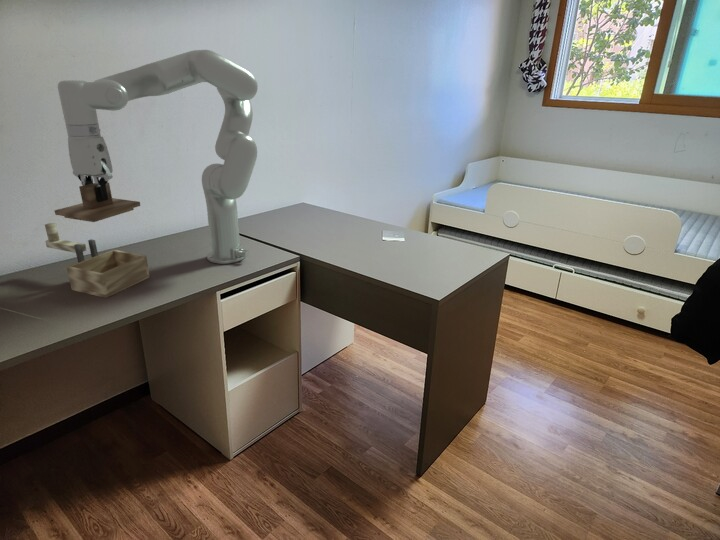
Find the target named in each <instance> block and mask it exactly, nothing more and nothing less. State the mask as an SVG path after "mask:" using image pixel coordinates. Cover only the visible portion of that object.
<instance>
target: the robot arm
mask: <svg viewBox="0 0 720 540" xmlns="http://www.w3.org/2000/svg"><path fill="white" fill-rule="evenodd" d="M201 83H208V84H210V85H212V86H214V87H215V88H216V90H217V93H219V95H220V97H221V99H222V100H223V104H224V114H223V119H222V120H223V121H222V123H221V126H220V129H219V133H218V136H217V139H216V142H215V146H214V150H215V154H216V155H217V156H218V157H219V158H220V159H222V160H223V163H211V164H209V165H207V166H206V167H205V168H204V170H203V171H202V174H201V186H202V189H203V190H202V191H203V194H204V199H205V203H206V204H205V205H206V212H207V223H208V233H209V241H210V242H209V244H210V252H208V253H207V255H206V258H207V260H208V261H209V263H210V262H211V263H214V264H219V265H220V264H223V265H224V264H233V263H238V262H240V261H242V260H244V259H245V258H248V257H249V253H250V250H249V249H246V248H245V249H244V247H243V246H244V245H243V244H241V242H240V229H239V227H240V226H239V218H238V205H237V199H238V198H241V197H242V196H243V195H244V193H245V192H246V190H247V189H248V186H249V182H250V179H251V177H252V175H253V171H254V168H255V165H256V161H257V157H258V146H257V143H256V142H255V140H254V139H253V138H252V137H251V136H249V135H250V130H251V126H252V122H253V108H252V103H251V100H252V99H253V98H254V97H255V96H256V95H257V93H258V82H257V79H256V77H255V75H254V74H252V73H251V72H250V70H249V71H248V70H247V69H245V68H244V67H242V66H241V65H238V64H236V63H235V62H233V61H231V60H229V59H228V58H225V57H224V56H222V55H221V54H219V53H217V52H215V51H213V50H210V49H195V50H190V51H187V52H182V53H180V54H177V55H174V56H170V57H167V58H163V59H160V60H156V61H153V62H151V63H147V64H144V65H141V66H138V67H135V68H131V69H129V70H125V71H122V72H121V71H120V72H117V73H114V74H112V75H109V76H105V77H102V78H98V79H96V80H94V81H85V80H77V79H75V80H67V79H66V80H60V81H59V82H58V83H57V89H58V90H57V91H58V96H59V101H60V105H61V109H62V110H61V111H62V114H63V119H64V124H65V129H66V132H67V146H68V147H67V148H68V155H69V161H70V165H71V168H72V174H73V175H74V176H75V177H76V178H78V180H79V181H80V182H81V186H84V185H88V184H93V183H95V185H96V187H95V193H96V198H97V202H102V201H105V200H108V195H107V190H106V186H107V182H108V183H109V181H110V180H111V179H112V178H113V174H112V173H113V165H112V160H111V155H110V153H109V150H108V146H107V143H106V140H105V139H104V136H102V135H101V128H100V124H99V120H98V113H97V110H101V111H112V112H113V111H114V112H115V111H120V110H122V109H123V108H125V107H126V106H127V104H128V102H130V101H133V100H137V99H141V98H142V99H143V98H146V97H159V96H164V95H169V94H171V93H174V92H177V91H180V90H182V89H185V88H188V87H192V86H194V85H195V86H196V85H198V84H201ZM99 178H100V179H99Z"/></svg>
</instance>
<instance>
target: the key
mask: <svg viewBox="0 0 720 540" xmlns="http://www.w3.org/2000/svg"><path fill="white" fill-rule="evenodd" d="M44 226H45V227H44V228H45V231H46V235H47V239H46V240H45V244H46V248H48V249H53V250H60V251H64V252H70V253H73V254H76V251H75V247H74V245H76V244H80V245H81V246H82V250H83V253H84V252H86V251H87V246H86V244H85V243H82V242H76V241H70V240H66V239H60V236H59V232H58V227H57V224H56V223H55V222H48V223H45V224H44Z"/></svg>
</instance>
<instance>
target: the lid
mask: <svg viewBox="0 0 720 540" xmlns="http://www.w3.org/2000/svg"><path fill="white" fill-rule="evenodd" d="M95 187H96V185H95V182H93V184H88V185H84V186H83V185H79V192H80V198H81V202H82V203H77V204H73V205H69V206H67V207H66V206H65V207H62V208H59V209H55V210H54V214H55V215H56V216H61V217H63V218H64V219H65V218H66V219H72V220H77V221H84V222H90V223H95V222H99V221H103V220H105V219H109V218H111V217H115V216H119V215H121V214H124V213H128V212H131V211H132V212H133V211H134V209H135V208H138V207H140V206H141V202H140V201H136V200H129V199H122V198H116V197H115V198H113V196H112V190H111V185H110V182H109V181H108V182H107V186H106V190H107V195H108V200H105V201H102V202H97V198H96V193H95Z"/></svg>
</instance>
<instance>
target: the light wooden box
mask: <svg viewBox="0 0 720 540" xmlns="http://www.w3.org/2000/svg"><path fill="white" fill-rule="evenodd" d="M87 242H88V247H89V251H90V256H91V257H90V258H87V259H85V255H84V252H83V250H82V246H81V245H80V244H76V245H74V247H75V251H76V253H75V254H76V259H77V262H76V263H74V264H71V265H68V266H66V271H67V276H68V280H69V285H70V288H71V291H75V292H79V293H82V294H87V295H90V296H91V295H93V296H96V297H101V298H104V299H107V298H109V297H111V296H113V295H116V294H117V293H120V292H123V290H126V289H128V288H130V287H132V286H134V285H136V284H139V283H141V282H143V281H145V280H147V279H150V271H149V264H148V259H147V255H143V254H140V253H134V252H128V251H122V250H118V249H112V250H109V251H106V252H104V253H101V254H99V252H98V248H97V243H96V240H95V239H88V240H87Z"/></svg>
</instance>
